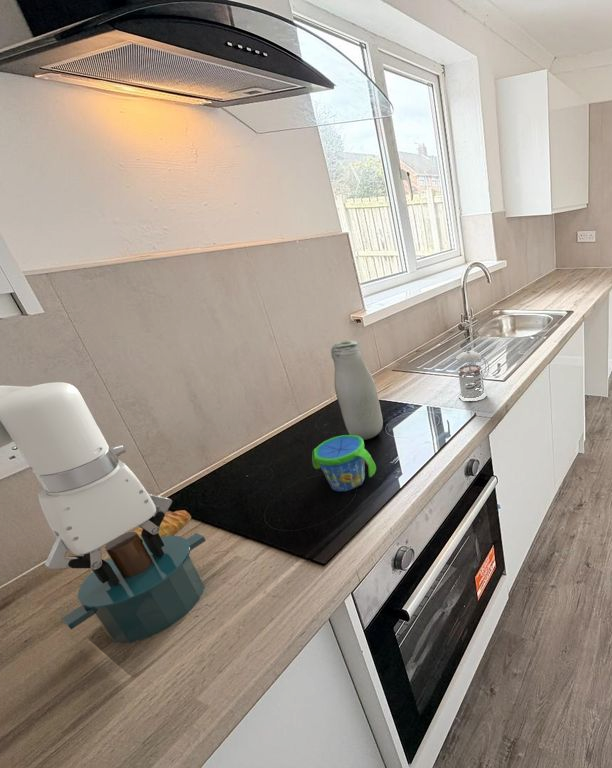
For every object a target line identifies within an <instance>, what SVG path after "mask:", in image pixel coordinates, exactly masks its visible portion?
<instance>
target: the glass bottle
mask: <svg viewBox="0 0 612 768" xmlns="http://www.w3.org/2000/svg"><path fill="white" fill-rule="evenodd" d="M362 351H363V350H362V349H361V347H360V344H359V342H357V341H355V340H342V341H339V342H336V343H335V344H333V345H332V347H331V350H330V353H331V354H330V356H331V358H332V360H333V366H334V392H335V395H336V398H337V402H338V406H339V408H340V412H341V416H342V419H343V422H344V425H345V428H346V430H347V433H348V435H356V436H359V437H361V438H362V439H363V441H366V440H370V439H373V438H374V437H376V436H377V435H379V434H380V433H381V431H382V430H383V427H384V426H383V425H384V420H383V414H382V410H381V404H380V400H379V395H378V391H377V390H378V389H377V386H376V383H375V380H374V377H373V375H372V373H371V372H370V370H369V369H368V367H367V365H366V362H365V361H364V358H363V355H362V354H363V353H362Z"/></svg>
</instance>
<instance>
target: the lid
mask: <svg viewBox="0 0 612 768" xmlns="http://www.w3.org/2000/svg"><path fill="white" fill-rule="evenodd" d="M160 538H161V539H162V541H163V543H164V546H163V547H161V548H162V550H163V552H164V555H162V556H159V557H158V556H156V555H155V554H153V553H151V552H150V551H149V549H148V547H147V545H146V544H145V542H142V541H141V539H140V537H139V536H138V534H137V533H136V532H132V531H128V532H126V533H125V534H123V535H121V536H119V537H117V538H116V539H114V540H112V541H110V542H109V543H107V544H105V545H104V550H105V551H106V553H107V555H108V556H109V559H107V560H105V561H106V562H107V563H109V565H110V566H111V568H112V569H113V571H114V573H115V574H116V576H117V578H118V579H119V581H120V582H119V583H118V584H117V585H115V586H114V585H112V584H111V583H110V582H108V581H107V582H105V583H102V582H100V581H99V579H98V578H97V576H96V575H95V573H94V572H93V571H92V572H91V573H89V575H88V576H87V577H86V578H85V579H84V580H83V582H82V583H81V585H80V587H79V589H78V592H77V600H78V602H79V603H80V604H81V606H82V605H83V606H85V607H87V608H93V609H100V608H108V607H112V606H116V605H119V604H123V603H125V602H128V601H131V600H133V599H135V598H137V597H139V596H141V595H143V594H145V593H147V592H149V591H151V590H152V589H154V588H156V587H157V586H159V585H160V584H162V583H163V582H165V581H166V580H167V579H168V578H170V577H171V576H172V575H173V574H174V573H175V572H177V571H178V570H179V569H180V567H181V566H182V565H183V564H184V563H185V561H186V560H187V558H188V556H189V554H191V551H192V550H191V548H190V544H189V542H188V541H187V538H186V537H183V536H179V535H172V536H163V537H160ZM190 550H191V551H190Z"/></svg>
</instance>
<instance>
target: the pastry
mask: <svg viewBox="0 0 612 768" xmlns="http://www.w3.org/2000/svg"><path fill="white" fill-rule="evenodd" d="M191 519H192V516H191V514H190V513H189V512H188V511H186V510H185V509H183V510H176V511H173V512H168V513H165V517H164V519H163V521H162V523H161V525H160V526H159V528H160V531H159V532H158V534H159V536H160V537H163V536H175V534H177V533H178V532H179V531H180V530H182V528H184V527H185V526H186V525H188V523H189V522H190V521H191ZM137 527H138V528H137V529H133V531H131V532H136V533H137V534H138V536H139V537H140V539H141V541H142V542H144V540H143V538H142V536H141V534H142V533H141V532H142V530H143V529H142V528H140V527H139V526H137Z"/></svg>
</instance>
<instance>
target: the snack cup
mask: <svg viewBox="0 0 612 768" xmlns="http://www.w3.org/2000/svg"><path fill="white" fill-rule="evenodd" d="M311 460H312V466H313V468H314V470H319V469H321V470H322V472H323V474H324V476H325V478H326V480H327V483H328V484H329V486H330V488H331V489H332V490H333V491H335V492H339V493H340V492H349V491H352V490H354V489H357V488H359V487H360V486H362V485H363V483H364V481H365V479H366V472H365V471H366V469H365V467H366V466H365V464H366V465H367V468H368V469H367V471H368V478H372V477H373V476H374V475H375V473H376V472H377V466H376V463H375V461H374V459H373V458H372V455H371V454H370V453H369V451H368V450H367V449H366V448H365V440H363V439H362V438H361V437H359V436H356V435H350V434H343V435H336V436H333V437H330V438H328V439H326V440H324V441H322V442H321V443H320V444H318V446H316V447H315V448H314V449H313V450H312V452H311Z"/></svg>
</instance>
